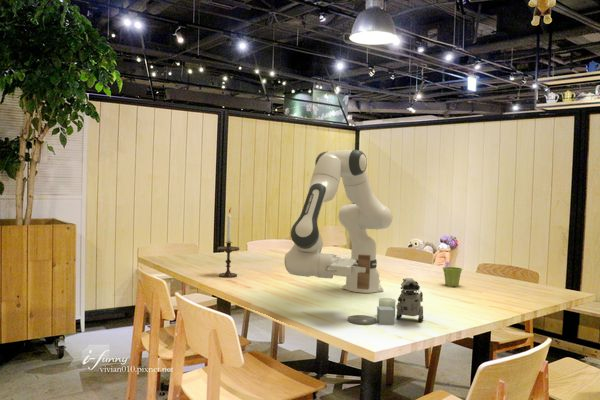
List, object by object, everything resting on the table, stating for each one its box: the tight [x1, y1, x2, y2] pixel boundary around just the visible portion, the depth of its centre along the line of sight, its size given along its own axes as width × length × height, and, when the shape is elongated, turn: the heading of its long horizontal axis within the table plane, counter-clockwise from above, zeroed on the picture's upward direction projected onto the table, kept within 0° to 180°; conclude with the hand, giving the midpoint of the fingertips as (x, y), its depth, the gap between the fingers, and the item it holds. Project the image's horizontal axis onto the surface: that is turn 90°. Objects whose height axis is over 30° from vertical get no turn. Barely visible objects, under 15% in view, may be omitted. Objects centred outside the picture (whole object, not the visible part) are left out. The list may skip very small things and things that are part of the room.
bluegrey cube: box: [376, 305, 396, 325], centre depth 176 cm, size 5×5×5 cm
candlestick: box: [217, 207, 240, 279], centre depth 256 cm, size 11×11×35 cm
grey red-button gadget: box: [395, 277, 424, 323], centre depth 178 cm, size 9×12×15 cm
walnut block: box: [357, 254, 371, 290], centre depth 181 cm, size 4×4×12 cm
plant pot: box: [442, 266, 463, 288], centre depth 247 cm, size 9×9×9 cm
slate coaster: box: [347, 314, 378, 326], centre depth 177 cm, size 10×10×1 cm
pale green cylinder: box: [378, 297, 396, 318], centre depth 185 cm, size 6×6×6 cm
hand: (366, 268), depth 181 cm, fingers closed on walnut block, 4 cm apart
